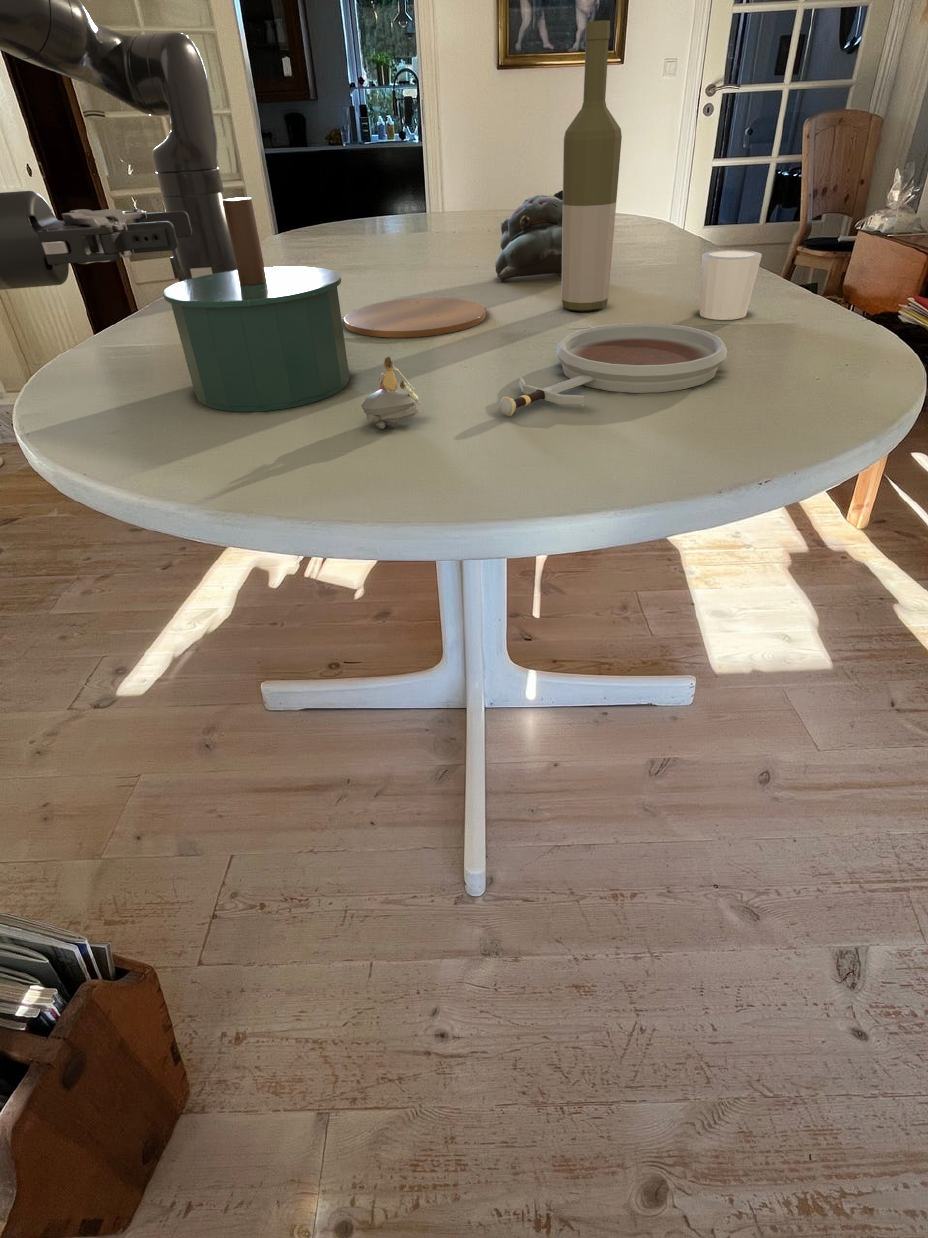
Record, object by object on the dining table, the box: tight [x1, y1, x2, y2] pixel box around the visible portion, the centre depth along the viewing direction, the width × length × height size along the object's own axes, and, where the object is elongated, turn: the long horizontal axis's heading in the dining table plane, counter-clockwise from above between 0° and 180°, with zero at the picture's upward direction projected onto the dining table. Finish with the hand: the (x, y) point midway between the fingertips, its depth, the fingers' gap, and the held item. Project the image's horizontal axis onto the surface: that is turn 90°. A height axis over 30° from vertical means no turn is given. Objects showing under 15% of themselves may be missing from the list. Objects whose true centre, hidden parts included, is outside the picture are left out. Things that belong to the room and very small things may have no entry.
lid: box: [162, 196, 342, 308], centre depth 67 cm, size 17×17×8 cm
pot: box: [170, 286, 350, 413], centre depth 72 cm, size 16×16×10 cm
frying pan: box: [498, 322, 729, 417], centre depth 70 cm, size 17×3×28 cm
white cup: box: [699, 249, 763, 321], centre depth 88 cm, size 7×7×7 cm
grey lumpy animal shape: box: [494, 189, 563, 282], centre depth 113 cm, size 15×12×14 cm
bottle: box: [561, 20, 623, 312], centre depth 88 cm, size 7×7×30 cm
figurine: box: [360, 356, 422, 430], centre depth 62 cm, size 5×4×6 cm
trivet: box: [343, 297, 487, 339], centre depth 96 cm, size 19×19×1 cm
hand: (182, 228), depth 65 cm, fingers open, 8 cm apart
